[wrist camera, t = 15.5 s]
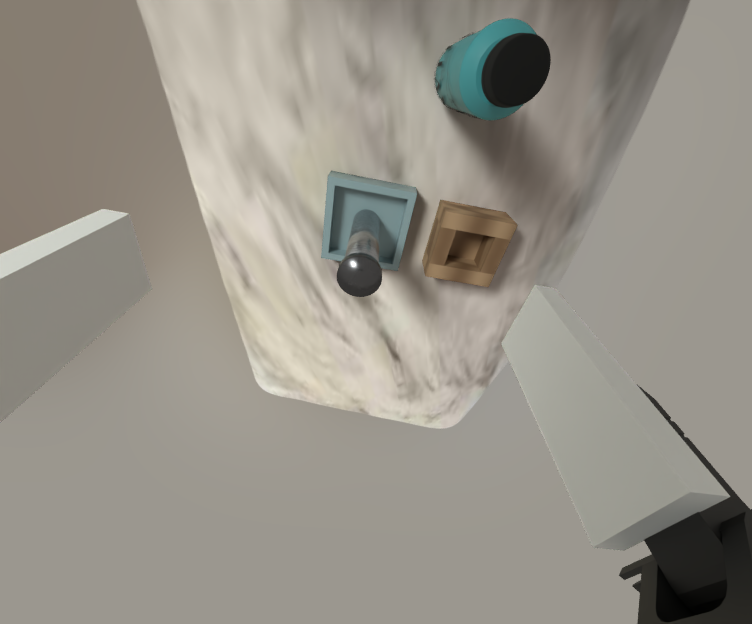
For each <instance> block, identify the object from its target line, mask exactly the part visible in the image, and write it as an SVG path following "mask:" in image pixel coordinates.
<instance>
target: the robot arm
mask: <svg viewBox="0 0 752 624" xmlns="http://www.w3.org/2000/svg"><path fill="white" fill-rule="evenodd" d="M151 290H152V287H151V283H150V280H149V277H148V274H147V270H146V267H145V263H144V260H143V257H142V254H141V250H140V247H139V244H138V240H137V237H136V234H135V231H134V227H133V224H132V221H131V217H130V214H129V213H123V212H117V211H112V210H106V209H101V210H99V211H97V212H95V213H92V214H90V215H88V216H86V217H84V218H81V219H79V220H77V221H74V222H72V223H70V224H67V225H65V226H63V227H61V228H59V229H56V230H54V231H52V232H50V233H47V234H45V235H42V236H40V237H38V238H36V239H33V240H31V241H29V242H27V243H24V244H22V245H20V246H18V247H15V248H13V249H11V250H8V251H6V252H4V253H2V254H0V423H1V422H2V421H3V420H4V419H5V418H6V417H7V416H8V415H10V414H11V413H12V412H13V411H14V410H15V409H16V408H18V407H19V406H20V405H21V404H22V403H23V402H24V401H26V400H27V399H28V398H29V397H30V396H31V395H32V394H34V393H35V391H37V390H38V389H39V388H40V387H42V386H43V385H44V384H45V383H46V382H47V381H48V380H49V379H51V378H52V377H53V376H54V375H55V374H56V373H57V372H59V371H60V370H61V369H62V368H63V367H64V366H65V365H66V364H68V363H69V362H70V361H71V360H72V359H73V358H74V357H75V356H77V355H78V354H79V353H80V352H81V351H82V350H83V349H85V348H86V347H87V346H88V345H89V344H90V343H92V342H93V341H94V340H95V339H96V338H97V337H98V336H100V335H101V334H102V333H103V332H104V331H105V330H106V329H107V328H109V327H110V326H111V325H112V324H113V323H114V322H115V321H117V320H118V319H119V318H120V317H121V316H122V315H123V314H125V313H126V312H127V311H128V310H129V309H130V308H131V307H132V306H134V305H135V304H136V303H137V302H138V301H139V300H140V299H142V298H143V297H144V296H145V295H146V294H147V293H148V292H149V291H151ZM501 344H502V346H503V349H504V351H505V353H506V355H507V358H508V360H509V362H510V364H511V367H512V369H513V371H514V373H515V375H516V378H517V380H518V382H519V384H520V387H521V389H522V391H523V393H524V395H525V398H526V400H527V402H528V404H529V407H530V409H531V411H532V413H533V416H534V418H535V420H536V422H537V424H538V427H539V429H540V431H541V433H542V435H543V438H544V440H545V442H546V445H547V447H548V449H549V451H550V453H551V456H552V458H553V460H554V462H555V465H556V467H557V469H558V471H559V473H560V476H561V478H562V480H563V482H564V485H565V487H566V489H567V491H568V494H569V496H570V498H571V500H572V502H573V505H574V507H575V509H576V511H577V514H578V516H579V518H580V520H581V523H582V525H583V527H584V529H585V531H586V534H587V536H588V538H589V540H590V543H591V544H592V547H594V548H604V549H614V550H626V549H628V548H630V547H632V546H634V545H636V544H638V543H640V542H642V541H645V542H646V544H647V546H648V548H649V549H650V551H651V553H652V555H650V556H647V557H645V558H643V559H641V560H639V561H636V562H634V563H632V564H630V565H628V566H626V567H624V568H622V570H621V572H620V575H619V576H620V577H622V578H623V579H624V580H626V579H628V578H630V577H633V576H635V575H637V574H640V573H641V574H642V575H641V581H638V582H637V583H635V584H633V587H634V588H635V589H636V590H637V591H639V592H640V599H639V612H638V624H752V509H751V510H750V509H749V508H748V507H747V506H746V504H745V503H744V502H743V501H742V500H741V499H740V498H739V497H738V496H737V494H736V493H735V492H734V491H733V490H732V489H731V487H730V486H729V485H728V484H727V483H726V482H725V480H724V479H723V478H722V477H721V476H720V475H719V473H718V472H717V471H716V470H715V469H714V468H713V466H712V465H711V464H710V463H709V462H708V461H707V459H706V458H705V457H704V456H703V455H702V454H701V452H700V451H699V450H698V449H697V448H696V447H695V445H694V444H693V443H692V442H691V441H690V440H689V439H688V438H686V437H684V433H683V431H682V430H681V429H680V428H679V427H678V426H677V424H676V423H675V422H673V421H671V420H670V418H671V417H670V416H669V415H668V414H667V413H666V412H665V410H663V408H662V407H661V406H660V405H659V403H658V402H657V401H656V400H655V399H654V398H653V397H652V396H650V395H649V394H648V393H647V392H645V391H644V390H643V389H642V388H641V387H639V386H638V385H637V384H636V383H635V382H634V381H633V380H632V379H631V377H630V376H629V375H628V374H627V373H626V371H625V370H624V369H623V368H622V367H621V365H620V364H619V363H618V362H617V361H616V360H615V358H614V357H613V356H612V355H611V354H610V352H609V351H608V350H607V349H606V348H605V346H604V345H603V344H602V343H601V342H600V341H599V339H598V338H597V337H596V336H595V334H594V333H593V332H592V331H591V330H590V328H589V327H588V326H587V325H586V324H585V323H584V321H583V320H582V319H581V318H580V317H579V316H578V314H577V313H576V312H575V311H574V309H573V308H572V307H571V306H570V305H569V304H568V302H567V301H566V300H565V299H564V297H563V296H562V295H561V294H560V293H559V291H558V290H557V289H556V288H551V287H545V286H540V285H534V287H533V289H532V291H531V292H530V294H529V296H528V298H527V299H526V301H525V303H524V305H523V306H522V308H521V310H520V312H519V313H518V315H517V317H516V319H515V320H514V322H513V324H512V325H511V327H510V329H509V331H508V332H507V334H506V336H505V338H504V339H503V341H502V343H501Z"/></svg>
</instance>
